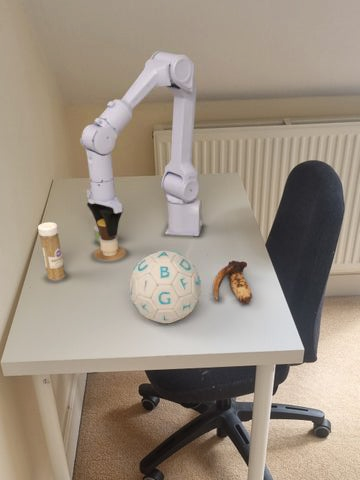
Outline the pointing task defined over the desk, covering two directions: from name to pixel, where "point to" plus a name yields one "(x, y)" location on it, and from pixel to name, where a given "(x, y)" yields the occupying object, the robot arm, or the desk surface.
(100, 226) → the brown pod
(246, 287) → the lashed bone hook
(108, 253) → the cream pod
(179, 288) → the puzzle ball
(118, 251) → the coaster
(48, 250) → the sprinkles bottle
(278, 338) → the desk surface
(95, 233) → the cylinder
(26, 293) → the desk surface
